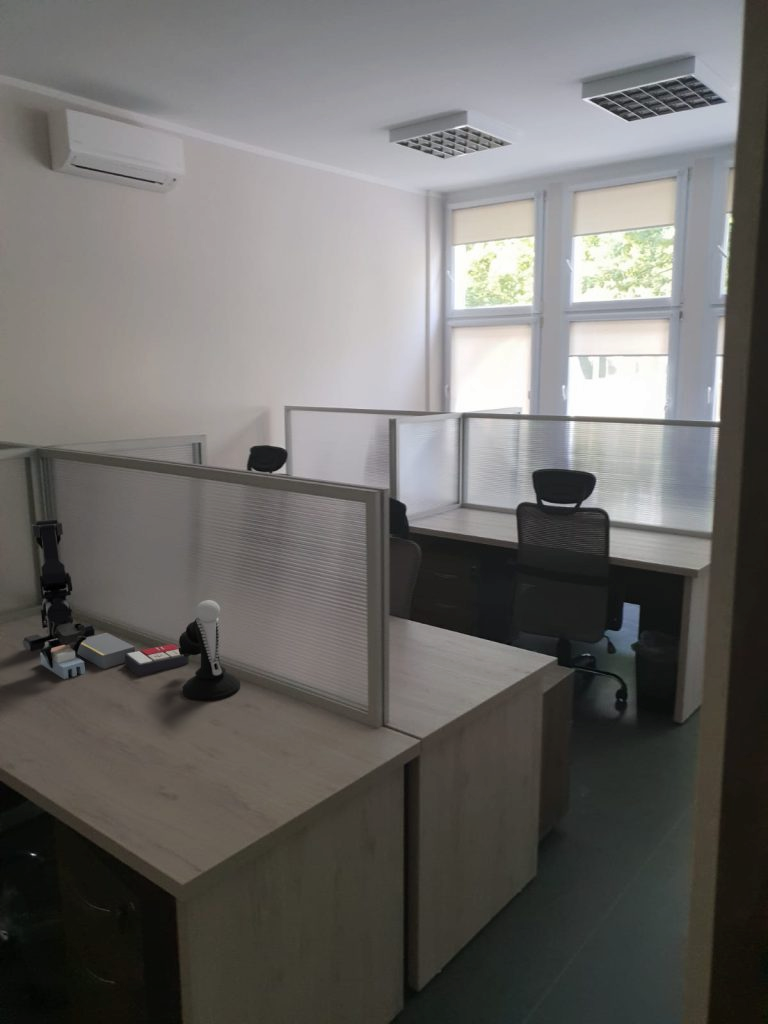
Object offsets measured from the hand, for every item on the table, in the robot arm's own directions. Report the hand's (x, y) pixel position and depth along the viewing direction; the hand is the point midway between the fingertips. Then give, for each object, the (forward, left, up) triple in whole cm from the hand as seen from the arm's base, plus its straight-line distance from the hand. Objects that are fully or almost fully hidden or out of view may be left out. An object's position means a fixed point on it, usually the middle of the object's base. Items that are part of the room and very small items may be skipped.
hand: (62, 664), depth 226 cm
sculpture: (+40, +22, -2) cm, 46 cm away
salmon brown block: (-2, 0, +2) cm, 3 cm away
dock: (0, +13, -1) cm, 13 cm away
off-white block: (+2, 0, +2) cm, 3 cm away
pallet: (0, 0, -1) cm, 1 cm away
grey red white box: (+17, +21, -2) cm, 27 cm away
